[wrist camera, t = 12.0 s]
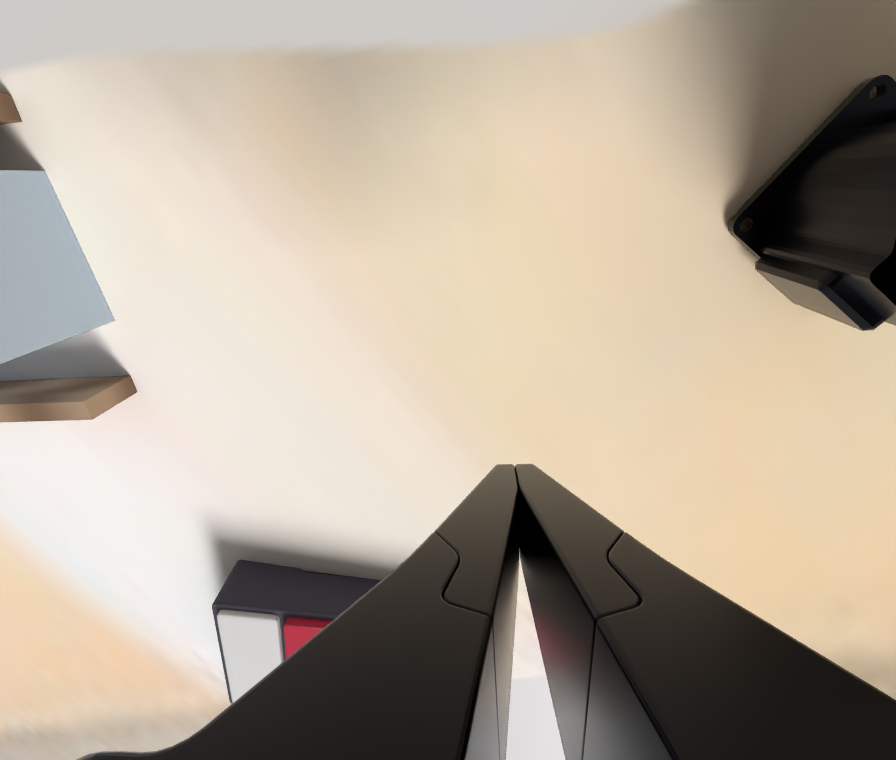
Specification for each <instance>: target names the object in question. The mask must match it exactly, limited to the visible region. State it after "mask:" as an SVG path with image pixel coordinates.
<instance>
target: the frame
mask: <svg viewBox="0 0 896 760" xmlns="http://www.w3.org/2000/svg"><path fill="white" fill-rule="evenodd" d="M15 122H22V121H21V119H20V116H19V114H18V112H17V109H16V107H15V105H14V102H13V100H12V98H11V95H10V94H6V93H1V92H0V124H6V123H15ZM136 392H137V391H136V389H135V386H134V384H133V382H132V379H131V377H130V376H114V377H90V378H66V379H42V380H18V381H0V422H26V421H59V420H92V419H94V418H96V417H97V416H99V415H100V414H102V413H104V412H105V411H107V410H109V409H110V408H112V407H114V406H115V405H117V404H118V403H120V402H122V401H123V400H125V399H127V398H128V397H130V396H132V395H133V394H135V393H136Z"/></svg>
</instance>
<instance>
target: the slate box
mask: <svg viewBox="0 0 896 760" xmlns="http://www.w3.org/2000/svg"><path fill="white" fill-rule="evenodd" d="M112 321H115V319H114V317H113V315H112V312H111V310H110V308H109V306H108V304H107V302H106V300H105V297H104V295H103V293H102V291H101V289H100V287H99V285H98V283H97V280H96V278H95V276H94V274H93V272H92V270H91V268H90V266H89V263H88V261H87V259H86V257H85V255H84V253H83V251H82V248H81V246H80V244H79V242H78V240H77V238H76V236H75V234H74V231H73V229H72V227H71V225H70V223H69V221H68V219H67V216H66V214H65V212H64V210H63V208H62V206H61V204H60V202H59V199H58V197H57V195H56V193H55V191H54V189H53V187H52V185H51V182H50V180H49V178H48V176H47V174H46V172H45V171H25V170H0V364H2V363H5V362H7V361H10V360H13V359H15V358H18V357H21V356H23V355H26V354H28V353H31V352H34V351H36V350H39V349H42V348H44V347H47V346H49V345H52V344H55V343H57V342H60V341H63V340H65V339H68V338H70V337H73V336H76V335H78V334H81V333H84V332H86V331H89V330H91V329H94V328H97V327H99V326H102V325H105V324H107V323H110V322H112Z"/></svg>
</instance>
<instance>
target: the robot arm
mask: <svg viewBox="0 0 896 760" xmlns="http://www.w3.org/2000/svg"><path fill="white" fill-rule="evenodd" d="M874 86H875V87H876V88H877V94H876V96H875V97H874V99H871V98H870V91H871V90H872V88H873V87H874ZM744 219H747V221H748V224H747V226H746V228H744V229H743V230H740V228H739V227H740V223H741V222H742V221H743V220H744ZM728 230H729V232H730V234H731V235H732V236H733V237H734V238H736V239H737V240H738V241H739V242H740V243H741V244H742V245H743V246H745V247H746V248H747V249H748V250H749V251H750V252H751V253H752V254H753V255H755V256H756V257H757V258H758V260H757V261H756V262H755V269H756V270H757V271H758V272H759V273H760V274H761V275H762V276H763V277H765V278H766V279H767V280H768V281H769V282H770V283H771V284H772V285H774V286H775V287H776V288H777V289H778V290H779V291H780V292H781V293H783V294H784V295H785V296H786V297H787V298H788V299H789V300H790V301H792V302H793V303H795V304H797V305H800V306H802V307H805V308H807V309H810V310H812V311H815V312H817V313H820V314H822V315H825V316H827V317H830V318H832V319H835V320H837V321H840V322H842V323H845V324H847V325H850V326H852V327H854V328H857V329H859V330H862V331H865V330H874V329H876V328H877V327H878V326H879V325H881V324H882V323H883V322H887V323H890V324H893V325H896V82H895V81H894V80H893V78H891V77H890V76H888V75H880V76H876V77H872V78H870V79H867V80H865V81H864V82H863V83H861V84H860V85H859V86H858V87H857V88H856V89H855V90H854V91H853V92H852V93H851V95H850V96H849V97H848V98H847V99H846V100H845V101H844V102H843V103H842V104H841V105H840V106H839V107H838V108H837V109H836V110H835V111H834V112H833V113H832V114H831V115H830V116H829V117H828V118H827V119H826V120H825V121H824V122H823V124H822V125H821V126H820V127H819V128H818V129H817V130H816V131H815V132H814V133H813V134H812V135H811V136H810V137H809V138H808V139H807V140H806V141H805V142H804V143H803V144H802V145H801V146H800V147H799V148H798V149H797V150H796V151H795V152H794V154H793V155H792V156H791V157H790V158H789V159H788V160H787V161H786V162H785V163H784V164H783V165H782V166H781V167H780V168H779V169H778V170H777V171H776V172H775V173H774V174H773V175H772V176H771V177H770V178H769V179H768V180H767V181H766V183H765V184H764V185H763V186H762V187H761V188H760V189H759V190H758V191H757V192H756V193H755V194H754V195H753V196H752V197H751V198H750V199H749V200H748V201H747V202H746V203H745V204H744V205H743V206H742V207H741V208H740V209H739V210H738V211H737V213H736V214H735V215H734V216H733V217H732V218H731V220H730V221H729V224H728ZM519 552H520V559H521V565H522V570H523V574H524V578H525V583H526V587H527V592H528V596H529V600H530V605H531V609H532V614H533V618H534V622H535V627H536V631H537V636H538V640H539V644H540V649H541V653H542V658H543V662H544V666H545V671H546V675H547V679H548V684H549V688H550V693H551V697H552V701H553V706H554V710H555V715H556V719H557V723H558V728H559V732H560V737H561V741H562V746H563V750H564V754H565V759H566V760H896V700H895V699H893V698H891V697H890V696H888V695H887V694H885V693H883V692H882V691H880V690H878V689H877V688H875V687H873V686H872V685H870V684H868V683H867V682H865V681H863V680H862V679H860V678H859V677H857V676H855V675H854V674H852V673H850V672H849V671H847V670H845V669H844V668H842V667H840V666H839V665H837V664H835V663H834V662H832V661H830V660H829V659H827V658H826V657H824V656H822V655H821V654H819V653H817V652H816V651H814V650H812V649H811V648H809V647H807V646H806V645H804V644H802V643H801V642H799V641H797V640H796V639H794V638H793V637H791V636H789V635H788V634H786V633H784V632H783V631H781V630H779V629H778V628H776V627H774V626H773V625H771V624H769V623H768V622H766V621H764V620H763V619H761V618H760V617H758V616H756V615H755V614H753V613H751V612H750V611H748V610H746V609H745V608H743V607H741V606H740V605H738V604H736V603H735V602H733V601H731V600H730V599H728V598H727V597H725V596H723V595H722V594H720V593H718V592H717V591H715V590H713V589H712V588H710V587H708V586H707V585H705V584H703V583H702V582H700V581H698V580H697V579H695V578H694V577H692V576H690V575H689V574H687V573H685V572H684V571H682V570H681V569H679V568H678V567H676V566H674V565H673V564H671V563H670V562H668V561H666V560H665V559H663V558H662V557H660V556H659V555H657V554H656V553H655V552H653V551H652V550H650V549H649V548H647V547H646V546H645V545H643V544H642V543H640V542H639V541H638V540H636V539H635V538H633V537H632V536H631V535H629V534H628V533H624V531H623V530H621V529H620V528H619V527H617V526H616V525H615V524H613V523H612V522H611V521H609V520H608V519H607V518H605V517H604V516H603V515H601V514H600V513H598V512H597V511H596V510H594V509H593V508H592V507H590V506H589V505H588V504H586V503H585V502H584V501H582V500H581V499H580V498H578V497H577V496H575V495H574V494H573V493H571V492H570V491H569V490H567V489H566V488H565V487H563V486H562V485H561V484H559V483H558V482H556V481H555V480H554V479H552V478H551V477H550V476H548V475H547V474H546V473H544V472H543V471H542V470H540V469H539V468H538V467H536V466H535V465H533V464H517V465H516V466H515V467H514V465H512V464H500V465H496V466H495V467H494V468H493V469H492V470H491V471H490V472H489V473H488V474H487V476H486V477H485V478H484V479H483V480H482V481H481V482H480V483H479V484H478V485H477V486H476V487H475V488H474V490H473V491H472V492H471V493H470V494H469V495H468V496H467V497H466V498H465V499H464V500H463V501H462V502H461V504H460V505H459V506H458V507H457V508H456V509H455V510H454V511H453V512H452V513H451V514H450V515H449V516H448V518H447V519H446V520H445V521H444V522H443V523H442V524H441V525H440V526H439V527H438V528H437V529H436V530H435V532H434V533H432V534H431V535H430V536H429V537H428V538H427V539H426V540H425V541H424V542H423V543H422V544H421V545H420V546H419V547H418V548H417V549H416V550H415V551H414V552H413V553H412V554H411V555H410V556H409V557H408V558H407V559H406V560H405V561H404V562H403V563H401V564H400V565H399V566H398V567H397V568H396V569H395V570H393V571H392V572H391V573H390V574H389V575H388V576H386V577H385V578H384V579H383V580H381V581H380V582H379V583H378V584H377V585H375V586H374V587H373V588H372V589H371V590H369V591H368V592H367V593H366V594H365V595H363V596H362V597H361V598H360V599H358V600H357V601H356V602H355V603H354V604H352V605H351V606H350V607H349V608H348V609H346V610H345V611H344V612H343V613H341V614H340V615H339V616H338V617H337V618H335V619H334V620H333V621H332V622H331V623H329V624H328V625H327V626H326V627H325V628H323V629H322V630H321V631H320V632H318V633H317V634H316V635H315V636H314V637H312V638H311V639H310V640H309V641H308V642H306V643H305V644H304V645H303V646H301V647H300V648H299V649H298V650H297V651H295V652H294V653H293V654H292V655H291V656H289V657H288V658H287V659H286V660H285V661H283V662H282V663H281V664H280V665H278V666H277V667H276V668H275V669H274V670H272V671H271V672H270V673H269V674H268V675H266V676H265V677H264V678H263V679H262V680H260V681H259V682H258V683H257V684H255V685H254V686H253V687H252V688H251V689H249V690H248V691H247V692H246V693H245V694H243V695H242V696H241V697H240V698H238V699H237V700H236V701H235V702H234V703H232V704H231V705H230V706H229V707H228V708H226V709H225V710H224V711H223V712H222V713H220V714H219V715H218V716H217V717H215V718H214V719H213V720H212V721H211V722H209V723H208V724H207V725H206V726H205V727H203V728H202V729H200V730H199V731H198V732H196V733H195V734H193V735H192V736H191V737H189V738H187V739H185V740H183V741H181V742H180V743H178V744H176V745H174V746H171V747H168V748H165V749H162V750H159V751H154V752H128V751H103V752H96V753H91V754H88V755H85V756H83V757H81V758H78V759H77V760H506V746H507V731H508V718H509V703H510V689H511V675H512V660H513V646H514V632H515V617H516V603H517V589H518V574H519Z"/></svg>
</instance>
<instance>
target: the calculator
mask: <svg viewBox="0 0 896 760" xmlns="http://www.w3.org/2000/svg"><path fill="white" fill-rule="evenodd" d="M379 582H380V580H373V579H365V578H356V577H347V576H337V575H328V574H318V573H309V572H303V571H301V570H300V569H298V568H293V567H286V566H279V565H273V564H266V563H259V562H252V561H245V560H239V561H238V562H237V563H236V565H235V566H234V568H233V570H232V572H231V573H230V575H229V577H228V578H227V580H226V582H225V584H224V585H223V587H222V589H221V590H220V592H219V594H218V596H217V597H216V599H215V601H214V603H213V605H212V609H213V615H214V620H215V625H216V631H217V636H218V641H219V647H220V652H221V657H222V662H223V668H224V673H225V678H226V684H227V689H228V694H229V700H230V702H231V704H232V703H234V702H235V701H236V700H237V699H238V698H240V697H241V696H242V695H243V694H245V693H246V692H247V691H248V690H249V689H251V688H252V687H253V686H254V685H255V684H257V683H258V682H259V681H260V680H262V679H263V678H264V677H265V676H266V675H268V674H269V673H270V672H271V671H272V670H274V669H275V668H276V667H277V666H278V665H280V664H281V663H282V662H283V661H285V660H286V659H287V658H288V657H289V656H291V655H292V654H293V653H294V652H295V651H297V650H298V649H299V648H300V647H301V646H303V645H304V644H305V643H306V642H308V641H309V640H310V639H311V638H312V637H314V636H315V635H316V634H317V633H318V632H320V631H321V630H322V629H323V628H325V627H326V626H327V625H328V624H329V623H331V622H332V621H333V620H334V619H335V618H337V617H338V616H339V615H340V614H341V613H343V612H344V611H345V610H346V609H348V608H349V607H350V606H351V605H352V604H354V603H355V602H356V601H357V600H358V599H360V598H361V597H362V596H363V595H365V594H366V593H367V592H368V591H369V590H371V589H372V588H373V587H374V586H375V585H377V584H378V583H379Z"/></svg>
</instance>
